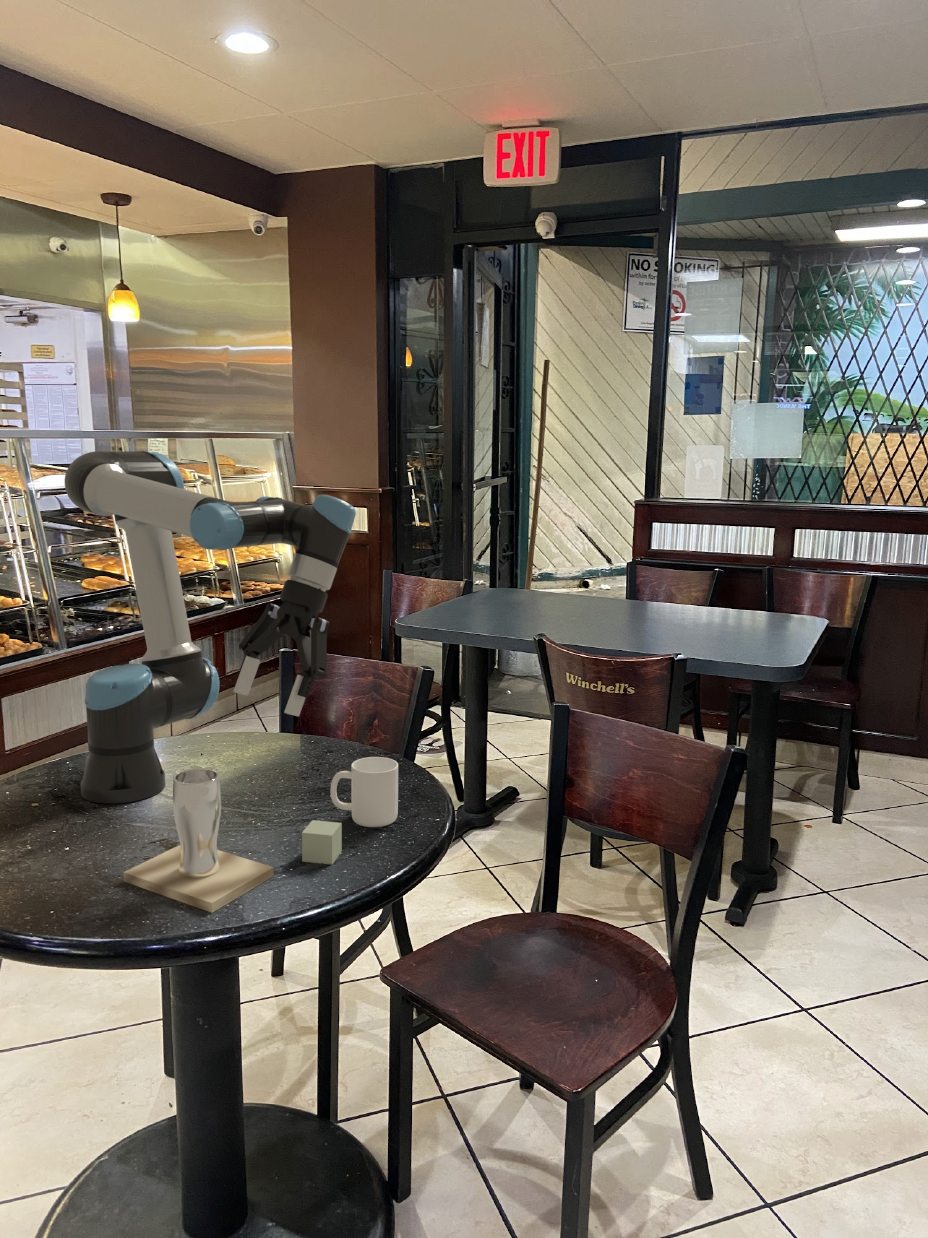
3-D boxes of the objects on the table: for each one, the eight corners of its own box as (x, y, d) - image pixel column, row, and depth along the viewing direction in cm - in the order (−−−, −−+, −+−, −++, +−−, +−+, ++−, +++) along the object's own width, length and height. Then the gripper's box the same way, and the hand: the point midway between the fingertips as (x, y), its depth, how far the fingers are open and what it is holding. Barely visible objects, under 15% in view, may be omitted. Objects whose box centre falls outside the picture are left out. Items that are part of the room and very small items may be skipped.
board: (124, 881, 134) (123, 872, 134) (188, 849, 145) (188, 841, 145) (212, 913, 125) (211, 903, 125) (273, 876, 137) (273, 867, 136)
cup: (397, 827, 155) (397, 772, 154) (328, 828, 155) (328, 773, 153) (398, 809, 164) (398, 756, 162) (332, 809, 163) (332, 756, 161)
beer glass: (180, 883, 130) (176, 787, 128) (171, 864, 137) (167, 771, 134) (227, 874, 134) (225, 780, 131) (217, 855, 140) (214, 765, 137)
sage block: (302, 862, 142) (301, 832, 141) (312, 848, 147) (312, 820, 146) (332, 865, 141) (332, 835, 140) (341, 851, 146) (341, 823, 145)
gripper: (373, 605, 146) (330, 728, 144) (277, 579, 161) (237, 690, 159) (343, 591, 140) (297, 719, 138) (246, 566, 155) (204, 681, 153)
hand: (265, 704), depth 149 cm, fingers open, 13 cm apart
